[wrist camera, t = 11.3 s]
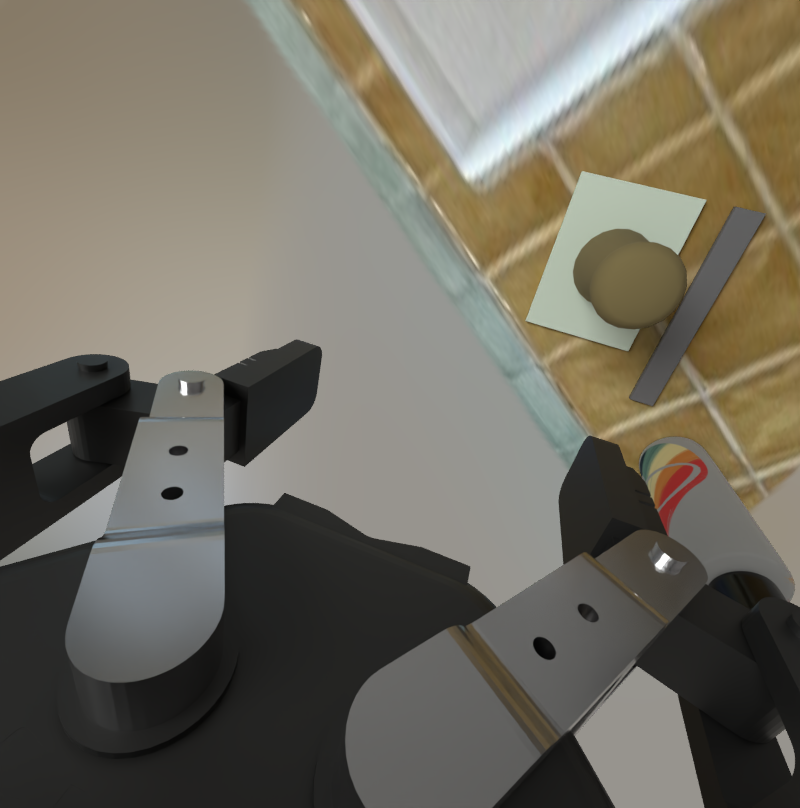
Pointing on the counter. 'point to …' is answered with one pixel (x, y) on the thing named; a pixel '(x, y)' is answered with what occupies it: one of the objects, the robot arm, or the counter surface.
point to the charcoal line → (697, 302)
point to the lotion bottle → (713, 522)
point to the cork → (629, 278)
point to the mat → (588, 217)
